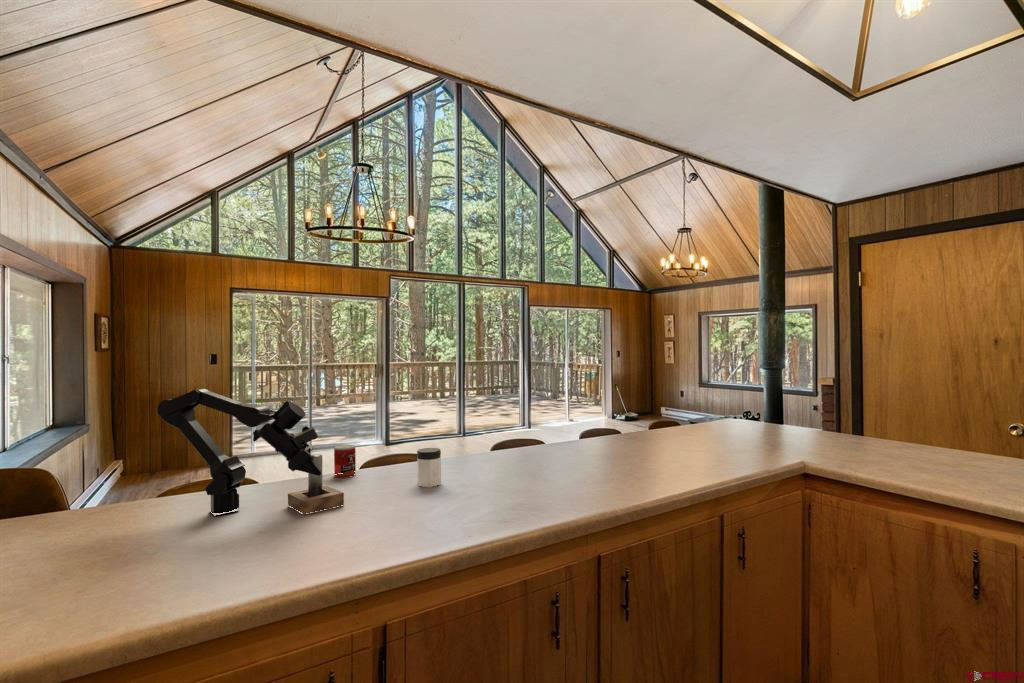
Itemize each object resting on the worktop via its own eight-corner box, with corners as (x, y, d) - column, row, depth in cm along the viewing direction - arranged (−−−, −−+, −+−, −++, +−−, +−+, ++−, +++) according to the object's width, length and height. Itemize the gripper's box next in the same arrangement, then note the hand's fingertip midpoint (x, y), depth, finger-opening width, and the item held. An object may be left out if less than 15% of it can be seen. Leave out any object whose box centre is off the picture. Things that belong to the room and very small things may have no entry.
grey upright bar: (311, 498, 148) (311, 457, 148) (306, 495, 151) (306, 455, 151) (324, 495, 151) (324, 455, 151) (319, 492, 153) (319, 453, 154)
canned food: (342, 479, 183) (342, 449, 184) (330, 476, 188) (329, 446, 188) (360, 474, 189) (359, 445, 190) (347, 472, 194) (347, 443, 194)
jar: (425, 489, 168) (424, 453, 168) (412, 484, 173) (411, 450, 174) (446, 483, 174) (446, 449, 174) (433, 479, 180) (432, 446, 180)
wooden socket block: (303, 515, 142) (303, 501, 142) (288, 506, 151) (287, 493, 151) (343, 505, 150) (343, 492, 151) (326, 498, 159) (326, 485, 159)
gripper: (300, 422, 141) (341, 458, 145) (301, 415, 158) (338, 447, 162) (270, 453, 138) (312, 488, 142) (274, 442, 155) (312, 474, 159)
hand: (320, 472), depth 151 cm, fingers closed on grey upright bar, 4 cm apart
